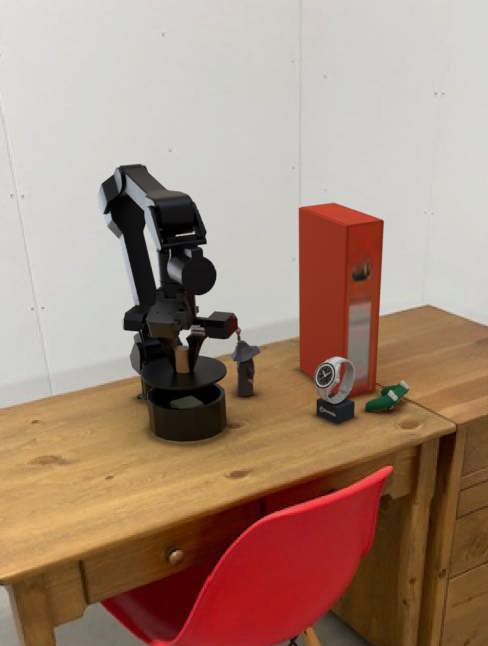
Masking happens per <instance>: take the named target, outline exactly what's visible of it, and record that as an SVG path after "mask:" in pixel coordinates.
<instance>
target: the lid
mask: <svg viewBox="0 0 488 646" xmlns="http://www.w3.org/2000/svg"><path fill="white" fill-rule="evenodd" d="M175 361H176V370H173V367H172V365H171V363H170V361H169V359H168V357H165V358H161V359H158V360H155V361H153V362H150V363H149V364H147V365H146V366H144V367H143V369H142V370H141V376H140V379H141V378H142V380H143V381H144V382H145V383H147V384H149V385H151V386H153V387H157V388H161V389H167V390H191V389H198V388H203V387H207V386H210V385H213V384H215V383H217V384H218V383H220V382H221V381H222V380H223V379H224V378H225V377H226V376H227V373H228V369H227V366H226V364H225V363H224V362H222V361H221V360H219V359H217V358H214V357H210V356H206V355H200V354H199V356H198V359H197V362H196V365H195V368H194V370H193V372H190V370H189V350H188V345H183V346H177V347H175Z"/></svg>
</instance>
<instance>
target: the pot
mask: <svg viewBox="0 0 488 646" xmlns="http://www.w3.org/2000/svg"><path fill="white" fill-rule="evenodd" d="M188 396H193V397H195V398H196V399H198V400H199V401H201V402H202V403H204V406H199V407H195V408H180V409H179V408H171V406H170V401H173V400H177V399H180V398H184V397H188ZM146 401H147V411H148V419H149V421H148V422H149V428H150V431H151V432H152V433H153V434H154V436H156V437H158V438H160V439H163V440H165V441H169V442H170V441H171V442H176V443H177V442H178V443H188V442H189V443H190V442H199V441H203V440H208V439H211V438H213V437H215V436H218V435H220V434H221V433H222V432H223V431H224V430H225V429H226V428H227V427H228V423H227V404H226V401H227V400H226V390H225V388H224V387H223V386H221V385H220V384H219V383H218V382H217V383H215V384H213V385H210V386H207V387H203V388H198V389H191V390H167V389H161V388H157V387H154V388H153V389H151V390H150V391H149V392H148V395H147V400H146Z"/></svg>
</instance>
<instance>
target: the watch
mask: <svg viewBox="0 0 488 646" xmlns="http://www.w3.org/2000/svg"><path fill="white" fill-rule="evenodd" d="M342 362H344V363H345V366H346V372H345V374H344V376H343V379H342V382H341V385H340V387H339V389H338V390H339V392H338V394H335V393H333V392H331V390H332V389H333V388H334V387H335V386H336V384H337V383H339V382H340V379H339V371H340V367H341V364H340V363H342ZM354 380H355V368H354V365H353V363H352V362H351V361H349V360H347V359H344V358H341V357H333V358H330V359H329V360H327V361H325V362H324V363H322V364H321V365H320V366H319V367H318V368H317V370H316V372H315V375H314V379H313V381H314V382H313V383H314V385H315V390H316V392H317V395H318V396H319V398H317V399H316V408H315V409H316V410H315V411H316V412H315V413H316V414H315V415H316V416H318V417H320V418H322V419H324V420H326V421H329V422H330V423H333V424H335V425H340V424H342V423H344V422H348V421H350V420H352V419H354V418H355V409H356V408H355V407H356V406H355V405H356V401H354V400H352V399H350V398H345V397H346V396H347V395H349V393H350V391H351V389H352V386H353V383H354Z"/></svg>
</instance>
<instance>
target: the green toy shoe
mask: <svg viewBox="0 0 488 646" xmlns="http://www.w3.org/2000/svg"><path fill="white" fill-rule="evenodd" d="M409 391H410V387H409V385H408V384H407V383H406V381H404V380H403V379H401V380H400V382H398V383H397V384H392V385H387V386H384V387H382V389H381V390H380V395H381V396H379V397H376V398H372V399H370V400H368V401H367V402H365V404H364V409H365V411H368V412H378V411H384V410H389V411H391V410H392V409H394V408H395V407H394V406H395V405H398V404H399V403H400V400H401V399H402V398H404V396H405V395H406V394H408V393H409Z"/></svg>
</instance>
